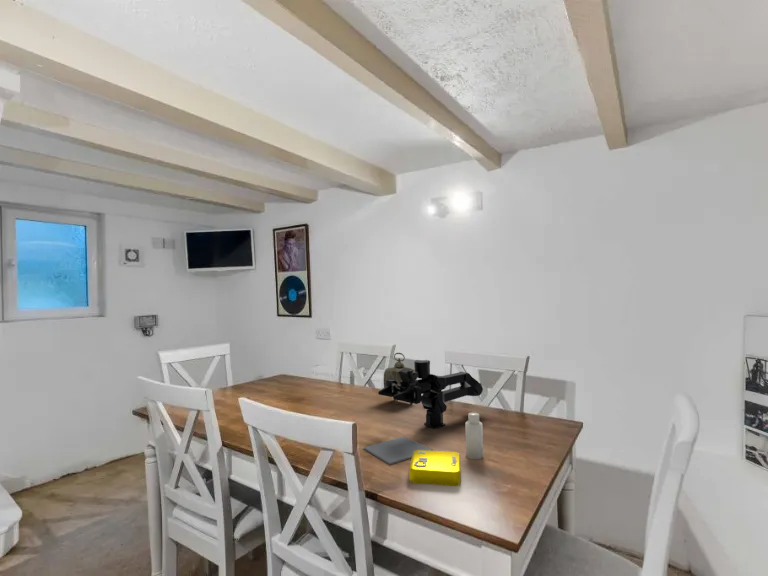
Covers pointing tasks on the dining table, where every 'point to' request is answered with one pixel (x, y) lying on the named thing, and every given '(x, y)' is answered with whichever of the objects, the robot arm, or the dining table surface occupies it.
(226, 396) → the dining table surface
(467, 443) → the white bottle
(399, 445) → the slate mat
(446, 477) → the element tile
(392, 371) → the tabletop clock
